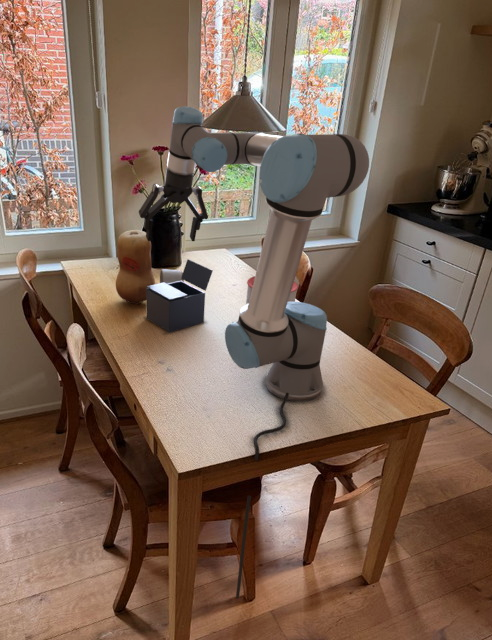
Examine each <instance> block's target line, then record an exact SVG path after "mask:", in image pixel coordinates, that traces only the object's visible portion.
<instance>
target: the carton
mask: <svg viewBox="0 0 492 640" xmlns="http://www.w3.org/2000/svg"><path fill="white" fill-rule="evenodd" d="M145 302H146V305H145V306H146V320H148V321H149V322H152V323H153V324H155V325H156V326H158V327H160V328H161V329H163V330H164V331H166V332H168V333H170V334H171V333H173V332H176V331H180V330H183V329H186V328H190V327H194V326H196V325H197V326H198V325H200V324H204V323H205V306H206V305H205V303H206V292H205V291H203V290H202V289H200V288H198V287H196V286H195V287H194V285H192V284H191V285H190V283H188V282H186V281H184V282H183V281H177V282H173V283H169V284H166V283H164V282H163V283H160V282H159V283H155V284H154V285H150V286H147V289H146V300H145Z"/></svg>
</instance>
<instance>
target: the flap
mask: <svg viewBox="0 0 492 640" xmlns="http://www.w3.org/2000/svg"><path fill="white" fill-rule="evenodd" d="M182 272H183V274H182V277H181V279H183V280H184V282H186V283H188V284H191V285H192V286H195V287H196V288H198V289H200V290H202V291H204V292H206V291H207V288H208V286H209V282H210V280H211V277H212V274H213V269H211V268H208V267H207V266H204V265H203V264H199V263H197V262H196V261H194V260H192V259H189V258H187V259H186V262H185V265H184V269H183V271H182Z"/></svg>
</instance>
